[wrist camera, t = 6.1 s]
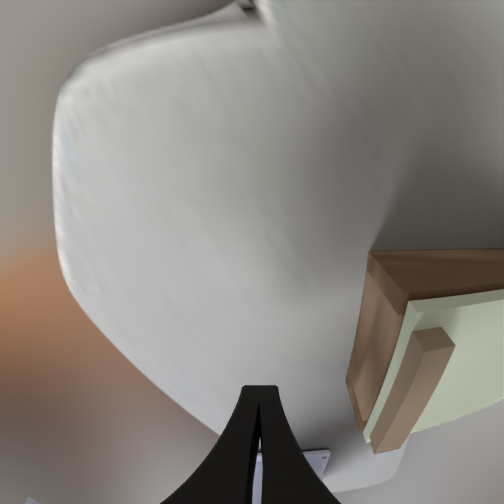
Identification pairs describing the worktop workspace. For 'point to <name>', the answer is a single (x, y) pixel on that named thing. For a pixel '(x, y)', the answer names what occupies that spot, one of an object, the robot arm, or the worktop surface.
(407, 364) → the wood-edged cream panel
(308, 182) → the worktop surface
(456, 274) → the pencil box
